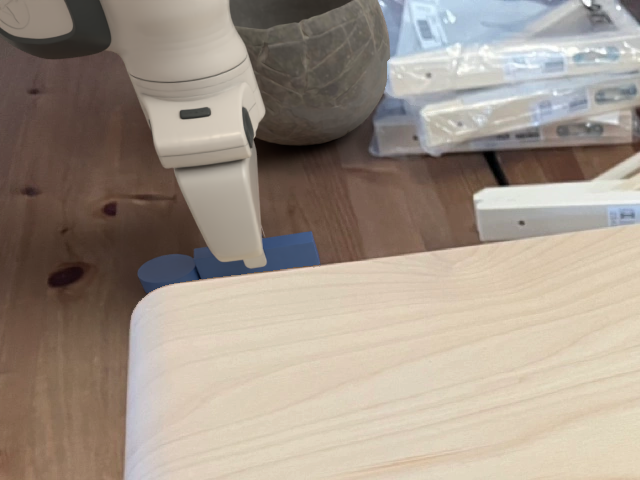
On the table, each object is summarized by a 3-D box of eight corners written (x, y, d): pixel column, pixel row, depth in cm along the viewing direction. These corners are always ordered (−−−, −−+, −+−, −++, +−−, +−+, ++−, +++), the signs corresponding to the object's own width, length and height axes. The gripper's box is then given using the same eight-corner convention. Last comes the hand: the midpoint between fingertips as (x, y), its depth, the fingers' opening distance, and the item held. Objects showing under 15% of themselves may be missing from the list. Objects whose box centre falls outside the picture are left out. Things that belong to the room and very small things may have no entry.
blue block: (318, 248, 94) (310, 223, 92) (321, 274, 91) (314, 249, 89) (145, 274, 91) (134, 249, 89) (143, 302, 87) (131, 277, 86)
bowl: (184, 125, 112) (128, -24, 101) (356, 79, 121) (322, -62, 110) (258, 195, 101) (205, 37, 90) (441, 138, 110) (412, -11, 100)
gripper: (162, 54, 86) (218, 205, 96) (153, 158, 73) (219, 321, 83) (240, 46, 88) (288, 195, 98) (245, 146, 74) (299, 308, 84)
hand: (256, 254), depth 90 cm, fingers closed on blue block, 2 cm apart
